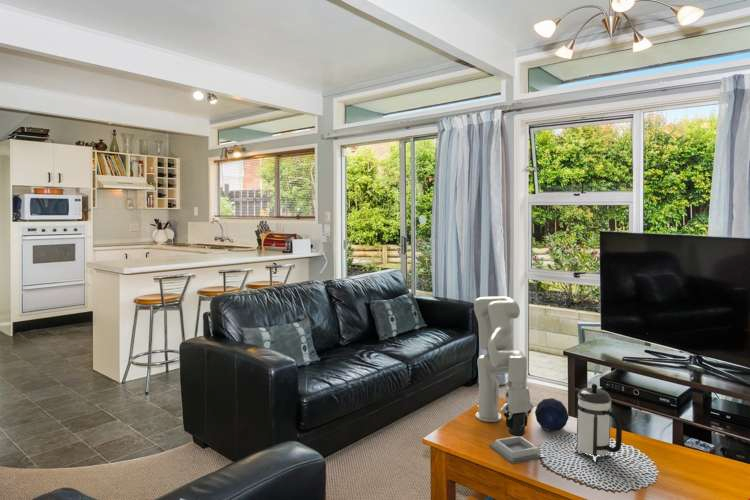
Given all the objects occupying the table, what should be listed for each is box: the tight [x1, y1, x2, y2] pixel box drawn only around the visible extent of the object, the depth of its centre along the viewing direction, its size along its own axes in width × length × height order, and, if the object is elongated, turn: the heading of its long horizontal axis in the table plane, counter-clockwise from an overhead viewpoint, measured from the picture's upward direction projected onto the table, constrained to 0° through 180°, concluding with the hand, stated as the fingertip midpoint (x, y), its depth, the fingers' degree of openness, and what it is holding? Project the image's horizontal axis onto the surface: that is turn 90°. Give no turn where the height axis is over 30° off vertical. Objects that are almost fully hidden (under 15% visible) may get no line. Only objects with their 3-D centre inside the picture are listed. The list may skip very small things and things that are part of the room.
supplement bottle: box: [507, 412, 526, 437], centre depth 209 cm, size 7×7×12 cm
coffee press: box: [575, 383, 623, 456], centre depth 206 cm, size 17×16×30 cm
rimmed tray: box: [488, 436, 541, 465], centre depth 210 cm, size 16×16×4 cm
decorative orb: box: [534, 397, 570, 432], centre depth 233 cm, size 14×15×15 cm
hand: (516, 425), depth 210 cm, fingers closed on supplement bottle, 6 cm apart
